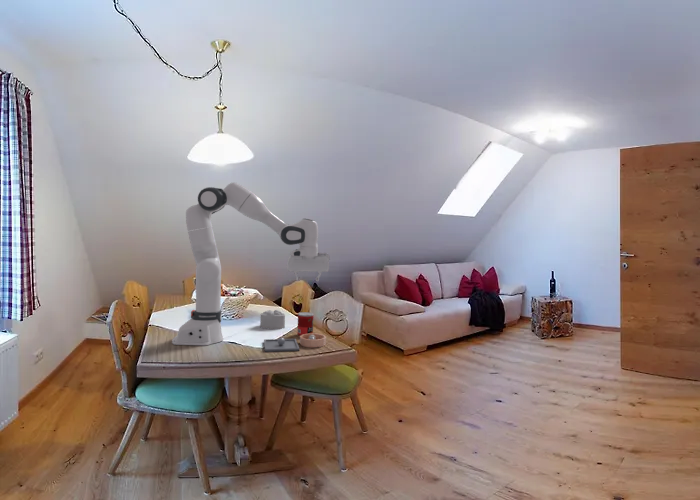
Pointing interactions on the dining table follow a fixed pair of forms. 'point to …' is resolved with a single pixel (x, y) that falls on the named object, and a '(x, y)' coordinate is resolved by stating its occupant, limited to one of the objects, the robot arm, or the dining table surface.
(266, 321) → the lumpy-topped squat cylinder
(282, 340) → the pebble
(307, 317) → the canned food
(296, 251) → the robot arm
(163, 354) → the dining table surface
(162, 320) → the dining table surface
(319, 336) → the bowl
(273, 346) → the tray
